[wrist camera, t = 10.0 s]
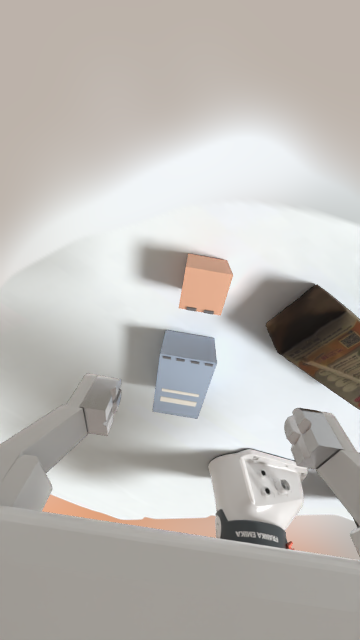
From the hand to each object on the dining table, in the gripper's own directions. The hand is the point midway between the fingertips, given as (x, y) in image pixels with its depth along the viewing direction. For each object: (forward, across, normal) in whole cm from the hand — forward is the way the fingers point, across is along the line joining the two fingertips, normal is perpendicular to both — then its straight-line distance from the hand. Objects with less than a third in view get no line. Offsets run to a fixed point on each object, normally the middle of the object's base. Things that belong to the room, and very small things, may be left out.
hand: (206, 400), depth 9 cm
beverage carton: (+18, -20, +6) cm, 27 cm away
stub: (+17, 0, 0) cm, 17 cm away
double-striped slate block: (+17, 0, +15) cm, 22 cm away
